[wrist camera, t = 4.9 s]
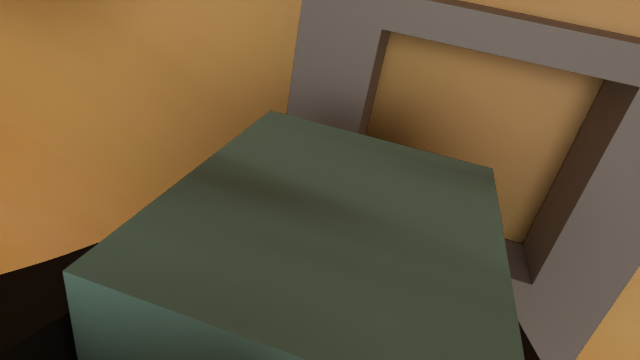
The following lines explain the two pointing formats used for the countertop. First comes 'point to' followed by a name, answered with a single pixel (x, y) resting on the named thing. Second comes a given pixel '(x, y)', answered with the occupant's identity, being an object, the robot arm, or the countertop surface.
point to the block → (304, 258)
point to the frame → (574, 176)
